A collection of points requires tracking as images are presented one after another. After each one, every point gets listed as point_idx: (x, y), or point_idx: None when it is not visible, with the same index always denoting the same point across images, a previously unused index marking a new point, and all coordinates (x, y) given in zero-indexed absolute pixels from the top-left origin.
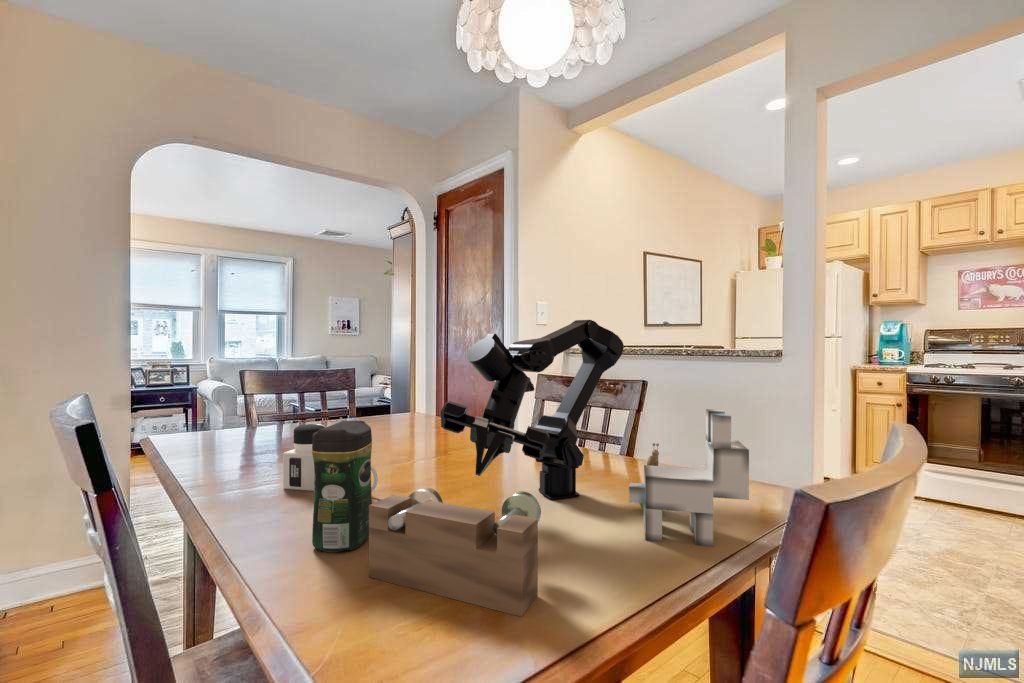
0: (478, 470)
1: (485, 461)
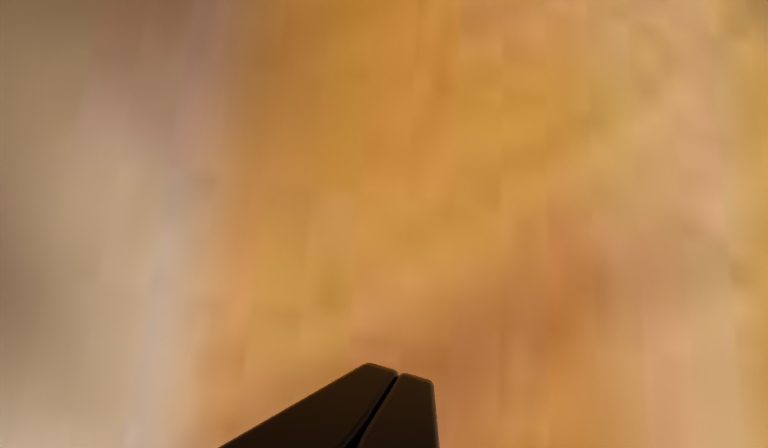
0: (393, 388)
1: (277, 444)
